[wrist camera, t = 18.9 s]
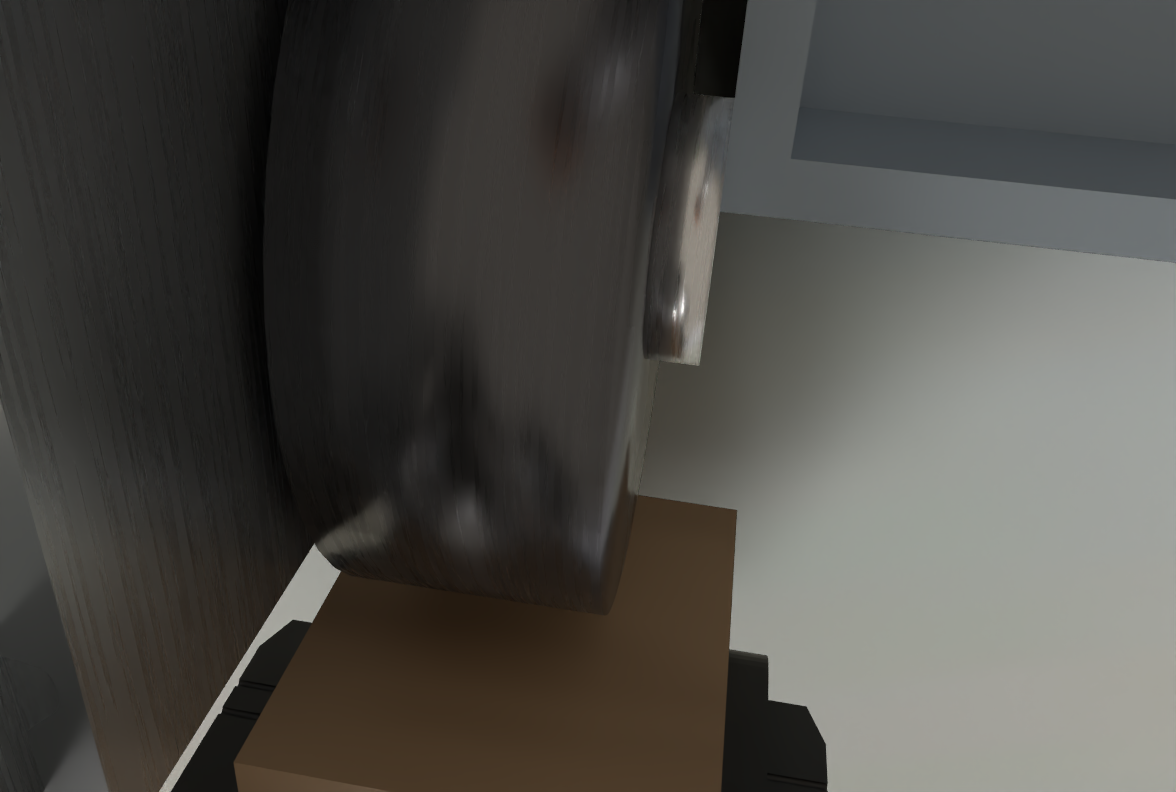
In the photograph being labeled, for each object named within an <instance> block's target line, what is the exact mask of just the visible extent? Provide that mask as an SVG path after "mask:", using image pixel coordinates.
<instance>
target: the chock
mask: <svg viewBox="0 0 1176 792" xmlns="http://www.w3.org/2000/svg"><path fill="white" fill-rule="evenodd" d="M736 519H737V510H733V509H726V508H719V507H713V506H706V505H700V504H693V503H686V502H680V501H673V500H667V499H660V498H654V497H647V496H640V495H638V497H637V503H636V508H635V513H634V519H633V524H632V529H631V534H630V539H629V544H628V548H627V553H626V558H625V562H624V566H623V571H622V575H621V579H620V583H619V586H618V590H617V594H616V597H615V600H614V603H613V606H612V608H611V610H610V612H609V614H608V615H605V616H604V615H598V614H591V613H585V612H579V611H572V610H566V609H559V608H553V607H547V606H540V605H534V604H527V603H521V602H515V601H508V600H502V599H495V598H489V597H483V596H476V595H470V594H463V593H457V592H451V591H444V590H438V589H431V588H425V587H419V586H412V585H406V584H399V583H393V582H387V581H380V580H374V579H367V578H361V577H355V576H350V575H348V574H346V573H344V572H342V571H341V573H340V574H339V576H338V578H337V580H336V581H335V583H334V585H333V587H332V589H331V590H330V592H329V594H328V596H327V597H326V599H325V601H324V603H323V605H322V606H321V608H320V610H319V612H318V613H317V615H316V617H315V619H314V620H313V622H312V624H311V626H310V628H309V629H308V631H307V633H306V635H305V636H304V638H303V640H302V642H301V644H300V645H299V647H298V649H297V651H296V652H295V654H294V656H293V658H292V659H291V661H290V663H289V665H288V667H287V668H286V670H285V672H284V674H283V675H282V677H281V679H280V681H279V683H278V684H277V686H276V688H275V690H274V691H273V693H272V695H271V697H270V698H269V700H268V702H267V704H266V706H265V707H264V709H263V711H262V713H261V714H260V716H259V718H258V720H257V722H256V723H255V725H254V727H253V729H252V730H251V732H250V734H249V736H248V737H247V739H246V741H245V743H244V745H243V746H242V748H241V750H240V752H239V753H238V755H237V757H236V759H235V761H234V762H233V763H234V769H235V775H236V781H237V787H238V792H721V783H722V765H723V747H724V730H725V712H726V695H727V677H728V659H729V642H730V624H731V607H732V589H733V572H734V554H735V536H736Z"/></svg>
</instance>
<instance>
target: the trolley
mask: <svg viewBox="0 0 1176 792" xmlns="http://www.w3.org/2000/svg"><path fill="white" fill-rule="evenodd" d="M701 10H702V0H0V792H159V790H160V789H161V787H162V786H163V784H164V782H165V781H166V779H167V778H168V776H169V774H170V773H171V771H172V770H173V768H174V766H175V765H176V763H177V762H178V760H179V758H180V757H181V755H182V754H183V752H184V751H185V749H186V747H187V746H188V744H189V743H190V741H191V739H192V738H193V736H194V735H195V733H196V731H197V730H198V728H199V727H200V725H201V723H202V722H203V720H204V719H205V717H206V715H207V714H208V712H209V711H210V709H211V707H212V706H213V704H214V703H215V701H216V699H217V698H218V696H219V695H220V693H221V691H222V690H223V688H224V687H225V685H226V683H227V682H228V680H229V679H230V677H231V675H232V674H233V672H234V671H235V669H236V668H237V666H238V664H239V663H240V661H241V660H242V658H243V656H244V655H245V653H246V652H247V650H248V648H249V647H250V645H251V644H252V642H253V640H254V639H255V637H256V636H257V634H258V632H259V631H260V629H261V628H262V626H263V624H264V623H265V621H266V620H267V618H268V616H269V615H270V613H271V612H272V610H273V608H274V607H275V605H276V604H277V602H278V600H279V599H280V597H281V596H282V594H283V592H284V591H285V589H286V588H287V586H288V584H289V583H290V581H291V580H292V578H293V577H294V575H295V573H296V572H297V570H298V569H299V567H300V565H301V564H302V562H303V561H304V559H305V557H306V556H307V554H308V553H309V551H310V549H311V548H312V546H313V545H314V543H315V545H316V547H317V548H318V550H319V551H320V552H321V553H322V555H323V556H324V557H325V558H326V559H327V560H328V561H329V562H330V563H331V564H332V565H333V566H334V567H335V568H336V569H338V570H340V571H342V572H344V573H346V574H348V575H350V576H355V577H361V578H367V579H374V580H380V581H387V582H393V583H399V584H406V585H412V586H419V587H425V588H431V589H438V590H444V591H451V592H457V593H463V594H470V595H476V596H483V597H489V598H495V599H502V600H508V601H515V602H521V603H527V604H534V605H540V606H547V607H553V608H559V609H566V610H572V611H579V612H585V613H591V614H598V615H604V616H605V615H608V614H609V612H610V610H611V608H612V606H613V603H614V600H615V597H616V594H617V590H618V586H619V583H620V579H621V575H622V571H623V566H624V562H625V558H626V553H627V548H628V544H629V539H630V534H631V529H632V524H633V519H634V513H635V508H636V503H637V497H638V492H639V486H640V481H641V475H642V469H643V463H644V457H645V451H646V446H647V439H648V433H649V427H650V421H651V415H652V408H653V402H654V395H655V389H656V382H657V375H658V369H659V362H660V361H664V362H672V363H680V364H688V365H696V366H699V364H700V357H701V350H702V342H703V335H704V328H705V320H706V313H707V305H708V298H709V290H710V283H711V276H712V268H713V261H714V253H715V245H716V238H717V230H718V223H719V215H720V207H721V200H722V192H723V185H724V177H725V169H726V162H727V154H728V147H729V139H730V131H731V124H732V116H733V108H734V100H735V98H729V97H718V96H708V95H698V94H693V91H694V82H695V72H696V62H697V52H698V42H699V32H700V21H701Z"/></svg>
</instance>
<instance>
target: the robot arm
mask: <svg viewBox="0 0 1176 792" xmlns="http://www.w3.org/2000/svg"><path fill="white" fill-rule="evenodd" d="M311 624H312V623H310V622H304V621H298V620H292V621H291V622H289V623H288V624H287V625H286V626H284V627H283V628H282V629H281V630H279V631H278V632H277V633H276V634H274V635H273V636H272V637H271V638H269V639H268V640H267V641H266V642H264V643H263V644H262V645H260V646H259V648H258V650H257V651H256V653H255V655H254V656H253V658H252V659H251V661H250V663H249V664H248V666H247V668H246V669H245V671H244V673H243V674H242V676H241V677H240V679H239V684H238V686H235V687H234V689H233V691H232V692H231V694H230V696H229V697H228V699H227V700H226V702H225V704H224V705H223V709H222V713H221V714H218V715H217V717H216V719H215V720H214V722H213V723H212V725H211V727H210V728H209V730H208V732H207V733H206V735H205V737H204V738H203V740H202V741H201V743H200V745H199V746H198V748H197V750H196V751H195V753H194V755H193V756H192V758H191V760H190V761H189V763H188V764H187V766H186V768H185V769H184V771H183V773H182V774H181V776H180V778H179V779H178V781H177V782H176V784H175V786H174V787H173V789H172V791H171V792H238V787H237V781H236V775H235V769H234V763H233V762H234V761H235V759H236V757H237V755H238V753H239V752H240V750H241V748H242V746H243V745H244V743H245V741H246V739H247V737H248V736H249V734H250V732H251V730H252V729H253V727H254V725H255V723H256V722H257V720H258V718H259V716H260V714H261V713H262V711H263V709H264V707H265V706H266V704H267V702H268V700H269V698H270V697H271V695H272V693H273V691H274V690H275V688H276V686H277V684H278V683H279V681H280V679H281V677H282V675H283V674H284V672H285V670H286V668H287V667H288V665H289V663H290V661H291V659H292V658H293V656H294V654H295V652H296V651H297V649H298V647H299V645H300V644H301V642H302V640H303V638H304V636H305V635H306V633H307V631H308V629H309V628H310V626H311ZM827 784H828V782H827V762H826V744H825V742H824V740H823V738H822V736H821V734H820V732H819V730H818V728H817V726H816V724H815V722H814V720H813V718H812V717H811V715H810V713H809V711H808V709H807V707H806V706H800V705H794V704H788V703H782V702H776V701H770V700H768V656H767V655H760V654H754V653H748V652H742V651H736V650H730V649H729V659H728V677H727V695H726V712H725V730H724V747H723V765H722V783H721V792H828V791H827Z"/></svg>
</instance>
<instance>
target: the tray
mask: <svg viewBox="0 0 1176 792" xmlns="http://www.w3.org/2000/svg"><path fill="white" fill-rule="evenodd" d="M720 212H727V213H736V214H745V215H754V216H763V217H772V218H781V219H790V220H799V221H808V222H816V223H825V224H834V225H843V226H852V227H861V228H870V229H879V230H888V231H897V232H906V233H915V234H924V235H933V236H942V237H951V238H960V239H968V240H977V241H986V242H995V243H1004V244H1013V245H1022V246H1031V247H1040V248H1049V249H1058V250H1067V251H1076V252H1085V253H1094V254H1103V255H1112V256H1120V257H1129V258H1138V259H1147V260H1156V261H1165V262H1174V263H1176V0H748V3H747V10H746V18H745V25H744V33H743V41H742V48H741V56H740V63H739V71H738V78H737V86H736V94H735V101H734V109H733V116H732V124H731V131H730V139H729V147H728V154H727V162H726V169H725V177H724V185H723V192H722V200H721V207H720Z"/></svg>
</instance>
